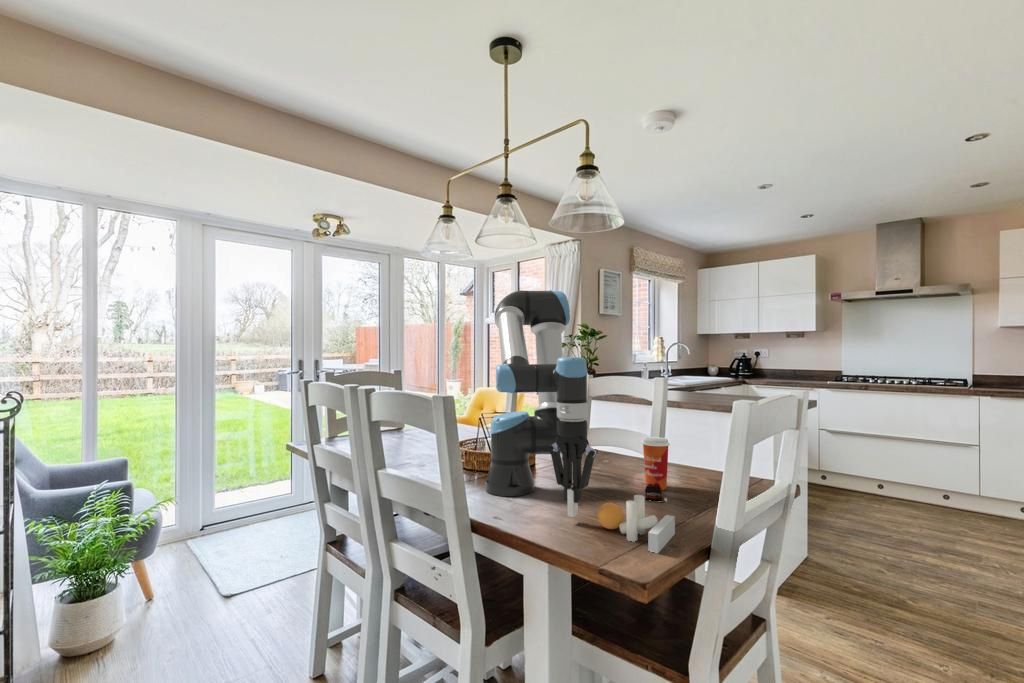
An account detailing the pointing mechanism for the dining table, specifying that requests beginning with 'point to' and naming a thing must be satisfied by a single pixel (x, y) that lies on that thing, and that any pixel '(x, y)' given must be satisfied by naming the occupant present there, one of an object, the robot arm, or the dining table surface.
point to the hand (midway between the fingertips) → (572, 514)
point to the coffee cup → (656, 460)
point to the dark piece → (654, 489)
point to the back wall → (661, 533)
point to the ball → (610, 515)
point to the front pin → (641, 523)
